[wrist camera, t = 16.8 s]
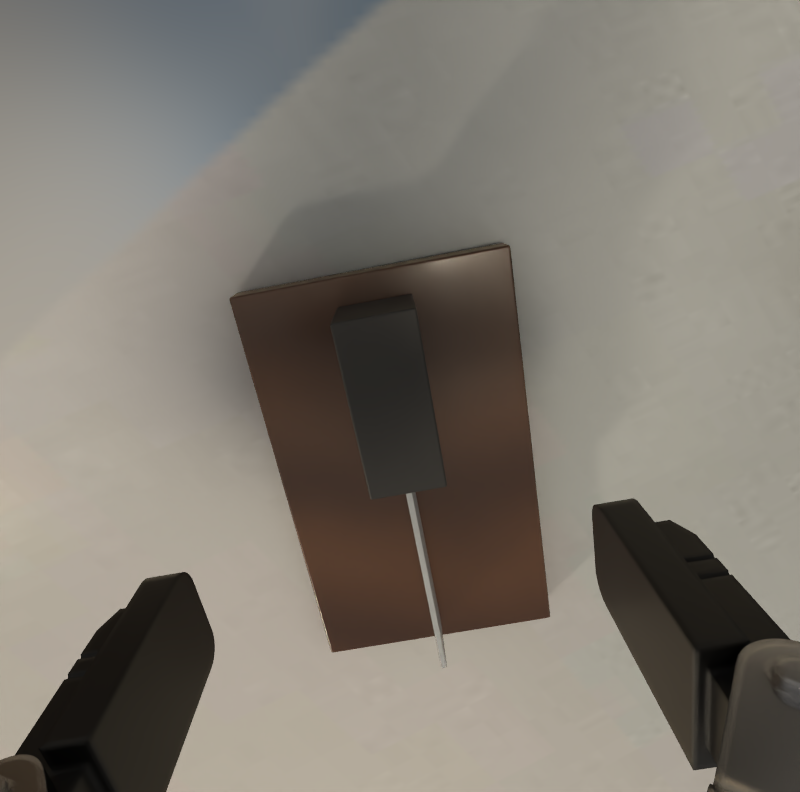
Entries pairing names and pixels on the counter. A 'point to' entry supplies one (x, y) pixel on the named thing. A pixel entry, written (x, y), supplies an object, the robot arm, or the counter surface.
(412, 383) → the knife
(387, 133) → the counter surface
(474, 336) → the board
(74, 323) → the counter surface
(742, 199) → the counter surface
